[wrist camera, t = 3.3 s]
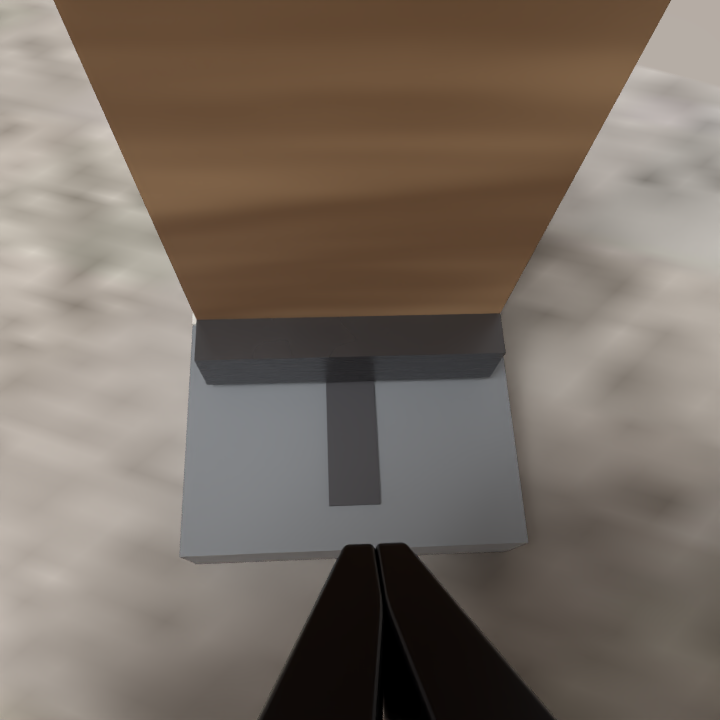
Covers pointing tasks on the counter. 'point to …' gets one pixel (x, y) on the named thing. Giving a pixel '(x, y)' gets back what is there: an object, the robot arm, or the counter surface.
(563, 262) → the counter surface
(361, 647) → the robot arm
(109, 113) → the slide lever
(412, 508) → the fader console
